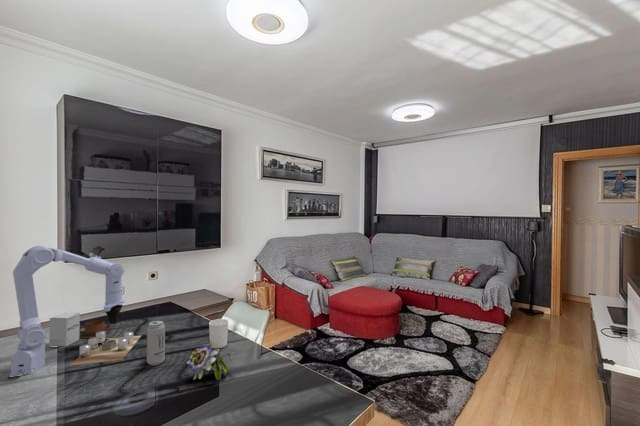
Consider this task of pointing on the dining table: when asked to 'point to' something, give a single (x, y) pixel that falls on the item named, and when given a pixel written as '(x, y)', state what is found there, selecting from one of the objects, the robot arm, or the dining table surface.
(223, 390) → the dining table surface
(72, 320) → the supplement box
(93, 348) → the spacers
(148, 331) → the energy drink can
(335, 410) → the dining table surface
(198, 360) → the passion flower
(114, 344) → the nut
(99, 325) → the cup and saucer
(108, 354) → the board
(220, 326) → the white cup
